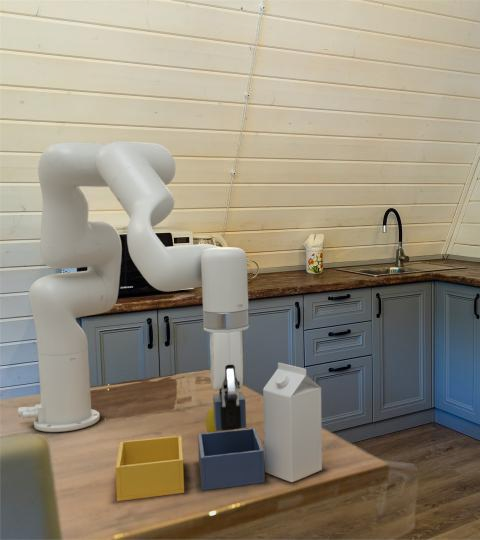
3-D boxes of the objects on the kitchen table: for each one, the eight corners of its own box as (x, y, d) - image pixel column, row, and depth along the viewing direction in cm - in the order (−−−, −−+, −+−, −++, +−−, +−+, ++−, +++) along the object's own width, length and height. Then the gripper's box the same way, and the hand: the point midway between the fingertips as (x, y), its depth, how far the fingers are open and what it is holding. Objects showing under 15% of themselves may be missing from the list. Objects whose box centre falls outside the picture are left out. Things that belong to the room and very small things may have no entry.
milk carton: (295, 461, 132) (293, 358, 130) (322, 470, 127) (321, 365, 125) (264, 473, 126) (262, 366, 124) (292, 483, 122) (290, 373, 120)
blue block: (216, 431, 122) (215, 402, 122) (214, 422, 127) (213, 394, 126) (246, 427, 124) (245, 399, 123) (243, 419, 129) (242, 391, 128)
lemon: (228, 448, 138) (227, 407, 137) (201, 446, 139) (200, 405, 138) (240, 438, 144) (239, 399, 143) (214, 436, 145) (213, 397, 144)
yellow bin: (117, 501, 115) (115, 467, 115) (121, 472, 127) (120, 441, 126) (184, 492, 118) (183, 459, 118) (182, 465, 130) (181, 435, 129)
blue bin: (202, 490, 119) (200, 457, 119) (198, 463, 131) (197, 433, 130) (264, 482, 122) (263, 450, 122) (256, 457, 134) (255, 427, 133)
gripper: (201, 313, 130) (204, 411, 132) (205, 331, 114) (210, 442, 116) (243, 310, 132) (246, 407, 135) (254, 327, 116) (257, 437, 118)
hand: (229, 422), depth 125 cm, fingers closed on blue block, 5 cm apart
